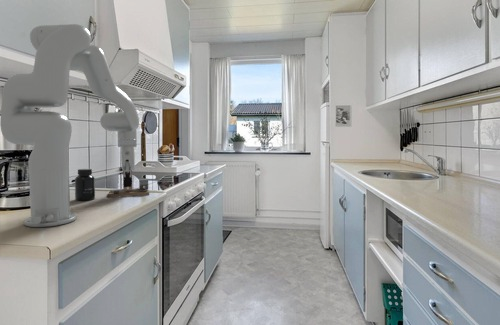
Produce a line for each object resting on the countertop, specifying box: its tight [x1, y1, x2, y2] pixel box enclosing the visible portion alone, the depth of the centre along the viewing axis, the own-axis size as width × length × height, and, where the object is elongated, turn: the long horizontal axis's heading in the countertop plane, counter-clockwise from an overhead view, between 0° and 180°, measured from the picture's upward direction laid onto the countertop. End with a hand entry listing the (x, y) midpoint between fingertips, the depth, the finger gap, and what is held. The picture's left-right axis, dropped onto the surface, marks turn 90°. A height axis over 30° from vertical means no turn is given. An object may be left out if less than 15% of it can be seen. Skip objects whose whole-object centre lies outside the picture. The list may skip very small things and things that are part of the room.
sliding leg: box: [122, 169, 133, 190], centre depth 128 cm, size 6×4×8 cm, turn 22°
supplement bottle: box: [74, 168, 96, 202], centre depth 117 cm, size 7×7×12 cm
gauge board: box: [107, 178, 150, 198], centre depth 129 cm, size 9×16×6 cm, turn 112°
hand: (127, 185), depth 129 cm, fingers closed on sliding leg, 4 cm apart
